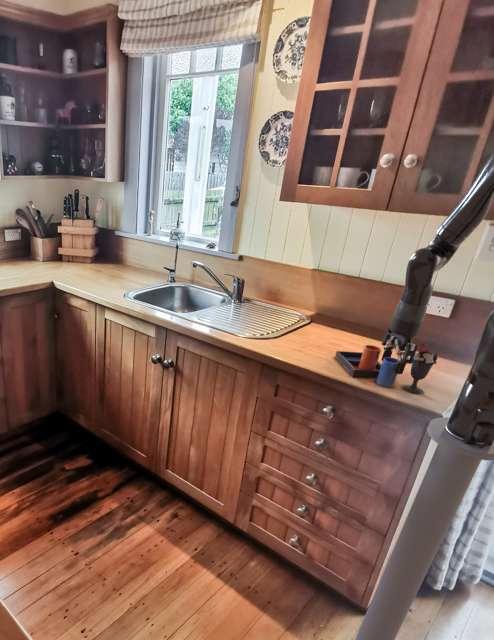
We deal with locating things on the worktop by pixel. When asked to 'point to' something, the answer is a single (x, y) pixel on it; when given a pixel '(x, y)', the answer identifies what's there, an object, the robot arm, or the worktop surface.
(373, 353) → the terracotta cup
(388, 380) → the blue cup
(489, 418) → the robot arm
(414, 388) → the sundae
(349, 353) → the tray
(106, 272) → the worktop surface
